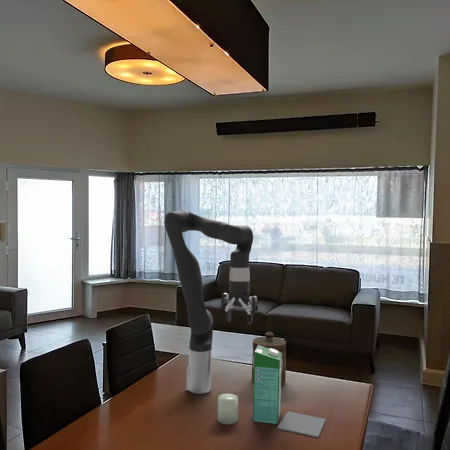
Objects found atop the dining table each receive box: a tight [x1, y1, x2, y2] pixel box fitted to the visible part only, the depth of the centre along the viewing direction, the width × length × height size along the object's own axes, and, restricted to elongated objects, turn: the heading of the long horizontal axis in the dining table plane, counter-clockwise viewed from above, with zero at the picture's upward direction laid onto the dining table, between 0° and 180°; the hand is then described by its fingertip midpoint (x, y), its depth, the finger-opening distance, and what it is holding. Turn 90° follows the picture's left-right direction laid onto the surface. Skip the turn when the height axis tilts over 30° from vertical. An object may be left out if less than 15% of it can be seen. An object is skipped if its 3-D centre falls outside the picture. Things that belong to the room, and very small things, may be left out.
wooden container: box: [251, 331, 287, 387], centre depth 198 cm, size 15×15×22 cm
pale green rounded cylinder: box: [217, 393, 239, 425], centre depth 160 cm, size 7×7×8 cm
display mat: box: [276, 411, 327, 439], centre depth 158 cm, size 14×14×1 cm
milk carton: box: [252, 345, 282, 425], centre depth 163 cm, size 9×9×25 cm
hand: (239, 322), depth 167 cm, fingers open, 8 cm apart
